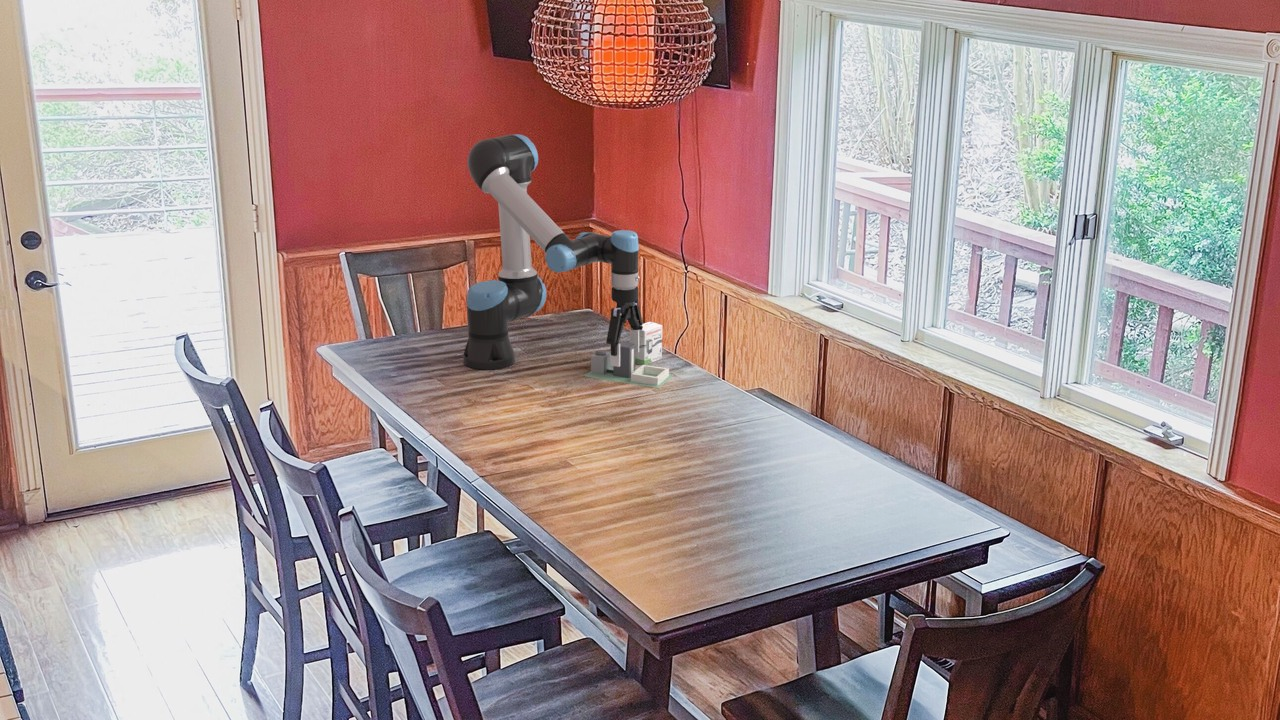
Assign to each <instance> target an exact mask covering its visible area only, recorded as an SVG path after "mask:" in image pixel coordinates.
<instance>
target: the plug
mask: <svg viewBox="0 0 1280 720" xmlns="http://www.w3.org/2000/svg"><path fill="white" fill-rule="evenodd" d="M619 344H620V367H617V366H613V376H620V377H626V378H630V377H631V374H632V373H633V372H634V371H635V369H636V363H635V344H633V343H630V342H625V341H619Z"/></svg>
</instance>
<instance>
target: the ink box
mask: <svg viewBox="0 0 1280 720" xmlns="http://www.w3.org/2000/svg"><path fill="white" fill-rule="evenodd" d="M642 326H643V329H642V330H639V352H635V364H637V365H641V366H642V365H649V364H651V363H653V362H656V361H658V360H662V358H663V357H662V356H663V355H662V354H663V324H659V323H656V322H653V321H647V322H645V323H644V322H643V325H642Z"/></svg>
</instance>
